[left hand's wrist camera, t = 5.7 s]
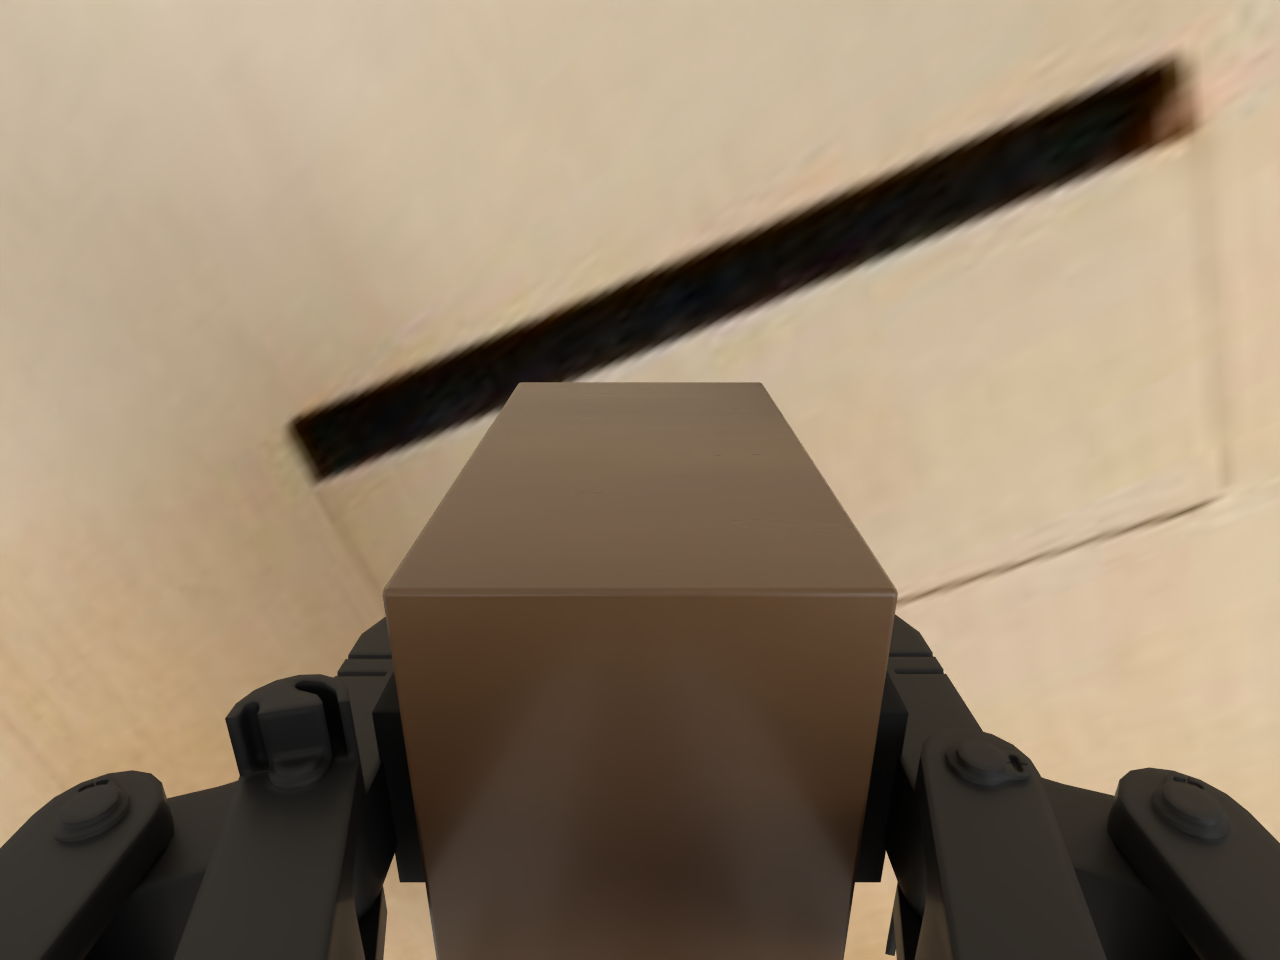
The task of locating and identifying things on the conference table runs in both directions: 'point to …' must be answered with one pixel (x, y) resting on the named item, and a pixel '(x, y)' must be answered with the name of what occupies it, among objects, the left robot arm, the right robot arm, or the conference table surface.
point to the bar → (640, 683)
